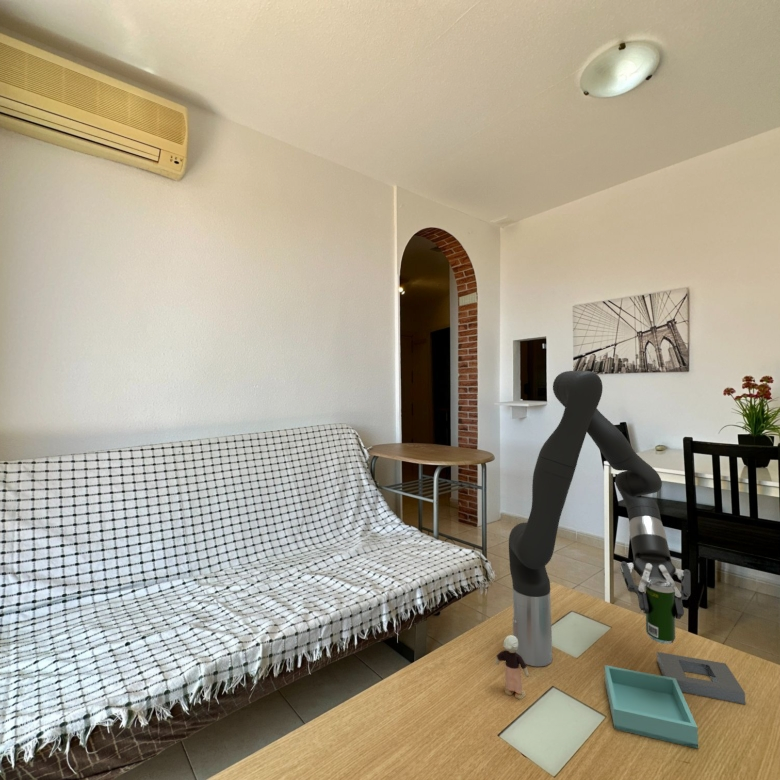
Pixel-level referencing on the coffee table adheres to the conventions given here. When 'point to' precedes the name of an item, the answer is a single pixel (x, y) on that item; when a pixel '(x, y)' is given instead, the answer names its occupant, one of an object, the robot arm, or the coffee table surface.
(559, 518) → the robot arm
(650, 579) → the beer can
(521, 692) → the grandmother figurine
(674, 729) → the tray
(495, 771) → the coffee table surface
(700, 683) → the gray rectangular block
